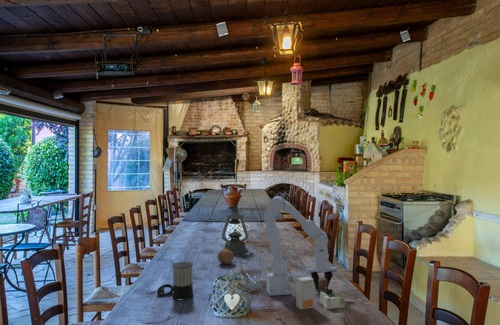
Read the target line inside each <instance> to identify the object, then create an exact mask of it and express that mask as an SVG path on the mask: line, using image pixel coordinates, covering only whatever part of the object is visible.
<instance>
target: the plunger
mask: <svg viewBox="0 0 500 325" xmlns="http://www.w3.org/2000/svg"><path fill="white" fill-rule="evenodd" d="M320 292H324V293H326V294H327V295H328V297H330V298H331V297H333V289H332V288H328V289H320Z"/></svg>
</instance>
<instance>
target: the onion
mask: <svg viewBox="0 0 500 325" xmlns="http://www.w3.org/2000/svg"><path fill="white" fill-rule="evenodd" d="M224 248H225V247H224ZM224 248H223V249H222V250H220V251H219V252H218V254H217V258H218V262H219V263H220V264H222V265H224V266H227V265H230V264H231V263H233V262H234V257H235V256H234V255H235V254H233V252H232V251H230V250H228V249H227V248H225V249H224Z"/></svg>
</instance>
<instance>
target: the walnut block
mask: <svg viewBox="0 0 500 325" xmlns="http://www.w3.org/2000/svg"><path fill="white" fill-rule="evenodd" d="M320 289H327V280H326V279H325V277H319V280H318V290H317V289H316V288H315V292H316V293H317V294H318V295H320Z"/></svg>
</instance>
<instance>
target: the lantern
mask: <svg viewBox="0 0 500 325" xmlns="http://www.w3.org/2000/svg"><path fill="white" fill-rule="evenodd" d="M225 217H226V219H224V221H223V222H222V223H221V229H222V232H221V233H222V234H221V238H222V240H223V241H225V243H224V247H223V249H225V248H227V249H228V250H230V251H232V252H233V253H234V255H238V254H237V253H240V254H245V253H247V252H248V251H249V248H247V246H246V243H245V242H246V241H247V240H248V239H249V233H248V229H247V227H248V226H247V225H248V223H247V221H246V219H245V217H244V214H240V213H239V208H237V207H233V208H231V212H230V214H225ZM230 219H231V220H230ZM224 222H225V223H224ZM223 224H224V225H223ZM229 224H231V225H239V224H241V225H239V226H238V228H239V227H240V229H243V230H242V231H237V230H235V228H232V230H231V231H227V229H230V228H231V226H230V225H229ZM223 226H224V227H223ZM232 231H233V232H232ZM226 233H228V237H226V235H227V234H226ZM243 234H244V235H245V237H243V238H241V237H242V236H243ZM229 239H230V240H229ZM244 252H245V253H244Z"/></svg>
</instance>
